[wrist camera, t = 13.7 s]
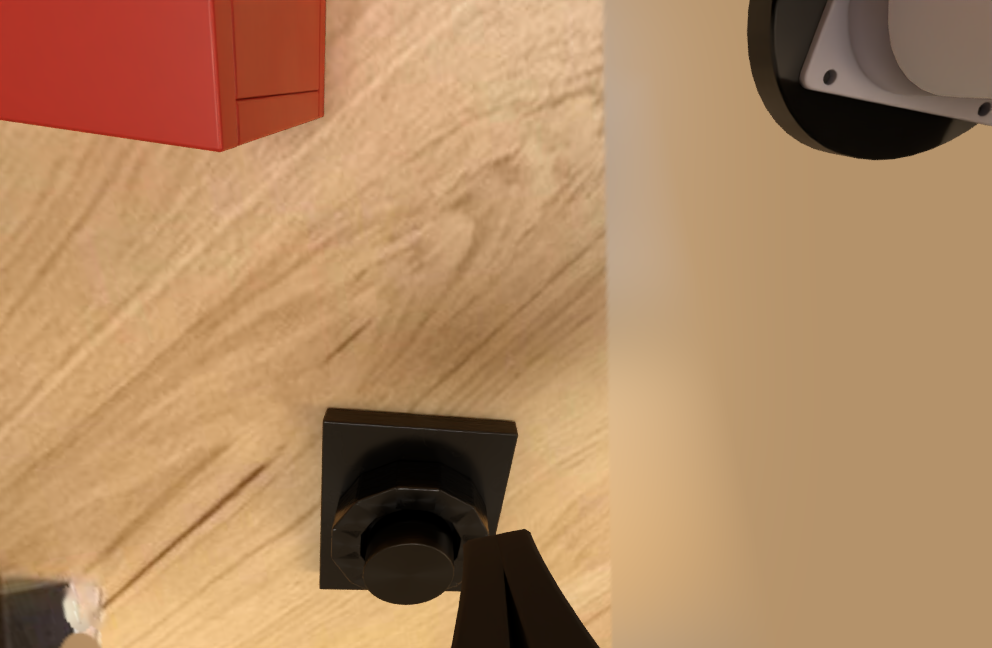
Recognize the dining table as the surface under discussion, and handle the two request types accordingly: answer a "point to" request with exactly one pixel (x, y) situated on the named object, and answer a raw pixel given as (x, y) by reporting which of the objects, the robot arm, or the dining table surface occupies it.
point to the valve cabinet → (163, 68)
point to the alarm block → (407, 482)
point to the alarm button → (409, 557)
